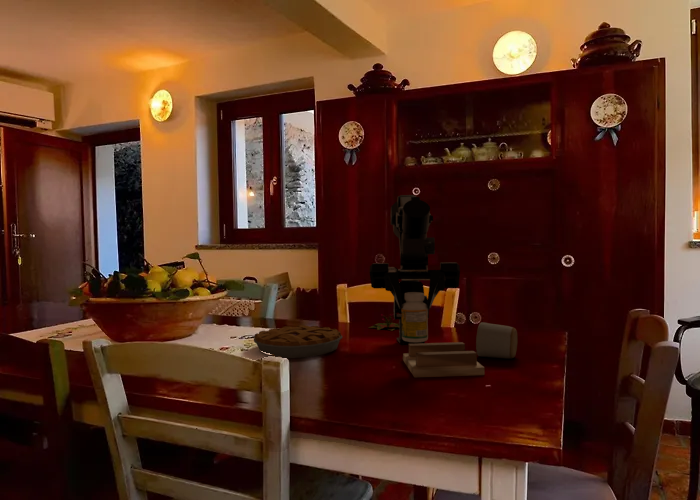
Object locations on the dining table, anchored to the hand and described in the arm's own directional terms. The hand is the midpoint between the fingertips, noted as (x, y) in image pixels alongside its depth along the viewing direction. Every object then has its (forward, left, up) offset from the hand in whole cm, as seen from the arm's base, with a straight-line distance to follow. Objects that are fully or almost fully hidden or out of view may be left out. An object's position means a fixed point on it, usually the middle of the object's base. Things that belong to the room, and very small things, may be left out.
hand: (414, 307), depth 103 cm
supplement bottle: (-1, 0, -7) cm, 7 cm away
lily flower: (-52, +1, -14) cm, 53 cm away
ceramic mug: (-12, +21, -14) cm, 28 cm away
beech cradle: (-4, +6, -13) cm, 15 cm away
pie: (-26, -25, -14) cm, 38 cm away
